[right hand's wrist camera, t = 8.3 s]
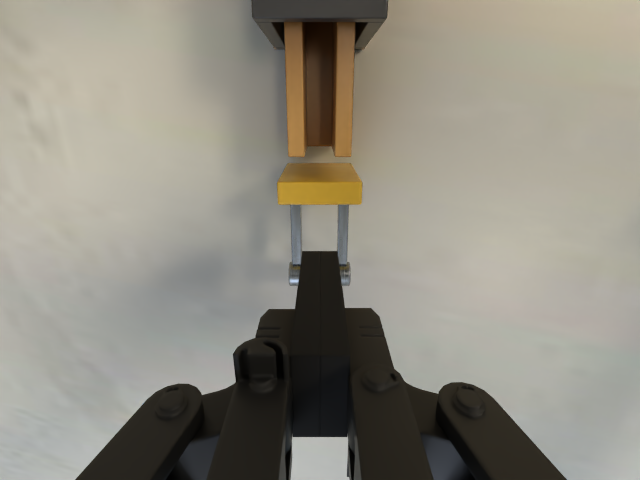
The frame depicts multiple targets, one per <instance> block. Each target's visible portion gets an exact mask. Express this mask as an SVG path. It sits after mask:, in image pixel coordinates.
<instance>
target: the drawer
mask: <svg viewBox="0 0 640 480" xmlns="http://www.w3.org/2000/svg"><path fill="white" fill-rule="evenodd" d="M284 36H285V68H286V99H287V131H288V156H289V157H304V156H305V152H306V149H307V146H332V149H333V151H334V154H335V157H351V144H352V112H353V80H354V49H355V22H284ZM277 194H278V204H279V205H290V208H291V240H292V262H290V263H289V285H290V286H298V282H299V274H300V266H301V257H302V225H301V205H338V231H337V251H338V257H339V266H340V274H341V282H342V286H349V285H350V263H349V262H347V245H348V213H349V205H360V204H361V203H362V181H361V180H360V178H359V176H358V174H357V173H356V171H355V169H354V168H353V166H352V164H351V163H288V164H287V166H286V168H285V169H284V171H283V173H282V175H281V177H280V178H279V180H278V182H277Z"/></svg>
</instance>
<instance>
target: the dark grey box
mask: <svg viewBox="0 0 640 480" xmlns="http://www.w3.org/2000/svg"><path fill="white" fill-rule="evenodd" d="M251 2H252V17H253V19H254V20H255V21H256V23H257V24H258V26H259V27H260V29H261V30H262V31H263V33H264V34H265V35H266V37H267V38H268V39H269V41H270V42H271V44H272V45H273V47H274V49H275V50H277V49H285V36H284V22H355V49H362V50H364V48H365V46H366V45H367V44H368V42H369V41H370V40H371V38H372V37H373V36H374V34H375V33H376V32H377V31H378V29H379V28H380V27H381V25H382V24H383V23H384V21H385V20H386V18H387V10H388V0H251Z"/></svg>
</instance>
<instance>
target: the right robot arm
mask: <svg viewBox="0 0 640 480" xmlns="http://www.w3.org/2000/svg"><path fill="white" fill-rule="evenodd" d="M233 359H234V368H235V377H236V383H235V384H233V385H231V386H230V387H228V388H226V389H223V390H220V391H217V392H213V393H209V394H205V395H202V394H201V392H200V391H199V390H198V388H197V387H195V386H192V385H190V384H175V385H171V386H167V387H165V388H163V389H161V390H159V391H157V392H155V393H154V394H153V395H152V396H151V397H150V398H148V399H147V400H146V401H145V403H144V404H143V405H142V406H141V407H140V408H139V409H138V410H137V411H136V413H135V414H134V415H133V416H132V417H131V418H130V419H129V420H128V422H127V423H126V424H125V425H124V426H123V427H122V428H121V429H120V430H119V432H118V433H117V434H116V435H115V436H114V437H113V438H112V439H111V440H110V442H109V443H108V444H107V445H106V446H105V447H104V448H103V449H102V451H101V452H100V453H99V454H98V455H97V456H96V457H95V458H94V459H93V461H92V462H91V463H90V464H89V465H88V466H87V467H86V468H85V469H84V471H83V472H82V473H81V474H80V475H79V476H78V477H77V478H76V480H290V478H291V465H292V434H293V437H347V434H348V465H347V477H349V478H350V480H567V479H566V478H565V477H564V476H563V475H562V474H561V473H560V472H559V471H558V469H557V468H556V467H555V466H554V465H553V464H552V463H551V462H550V461H549V459H548V458H547V457H546V456H545V455H544V454H543V453H542V452H541V451H540V449H539V448H538V447H537V446H536V445H535V444H534V443H533V442H532V441H531V440H530V438H529V437H528V436H527V435H526V434H525V433H524V432H523V431H522V430H521V428H520V427H519V426H518V425H517V424H516V423H515V422H514V421H513V420H512V418H511V417H510V416H509V415H508V414H507V413H506V412H505V411H504V410H503V408H502V407H501V406H500V405H499V404H498V403H497V402H496V401H495V400H494V398H492V397H491V396H490V395H489V394H488V393H487V392H485V391H484V390H482V389H480V388H478V387H476V386H474V385H471V384H467V383H463V382H455V383H449V384H447V385H445V386H443V387H442V389H441V390H440V391H439V394H437V393H433V392H429V391H425V390H421V389H418V388H415V387H413V386H411V385H409V384H407V383H406V382H405V381H404V380H403V378H402V377H401V375H400V373H398V372H397V371H396V370H395V369H394V367H393V363H392V360H391V356H390V353H389V349H388V345H387V342H386V338H385V336H384V331H383V328H382V324H381V321H380V317H379V316H378V315H377V314H376V313H375V312H374V311H373V310H372V309H371V308H345V306H344V298H343V290H342V282H341V274H340V266H339V257H338V251H302V257H301V266H300V274H299V282H298V290H297V298H296V306H295V309H269V310H268V311H267V312H266V313H265V314H264V315H263V316H262V317H261V318H260V322H259V326H258V330H257V333H256V338H254V339H251V340H249V341H246V342H244V343H243V344H241V345H240V346H239V347H237V349H236V350H235V352H234V353H233Z"/></svg>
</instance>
